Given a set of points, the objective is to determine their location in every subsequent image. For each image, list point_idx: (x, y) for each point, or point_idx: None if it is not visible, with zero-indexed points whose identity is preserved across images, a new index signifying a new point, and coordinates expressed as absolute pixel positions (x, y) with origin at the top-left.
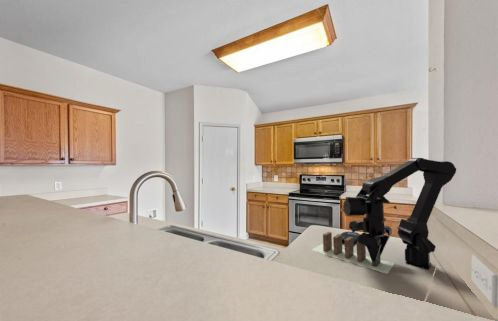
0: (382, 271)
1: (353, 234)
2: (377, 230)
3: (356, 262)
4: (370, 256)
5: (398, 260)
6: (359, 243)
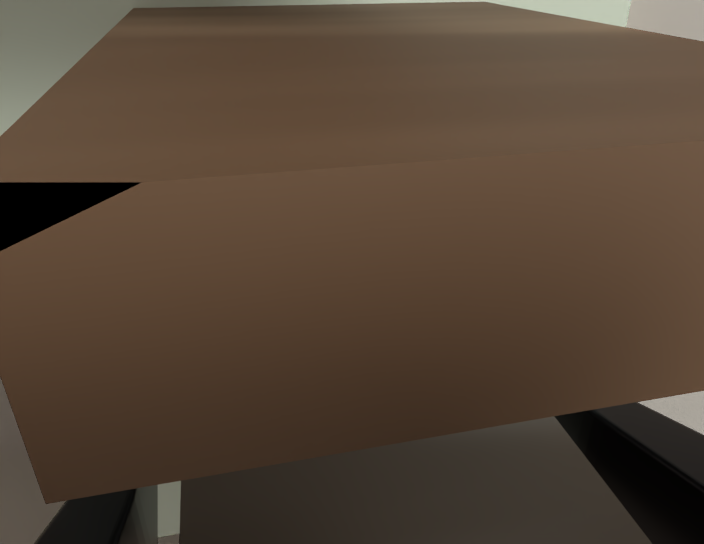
0: None
1: None
2: None
3: (41, 23)
4: (59, 519)
5: (697, 426)
6: (26, 432)
